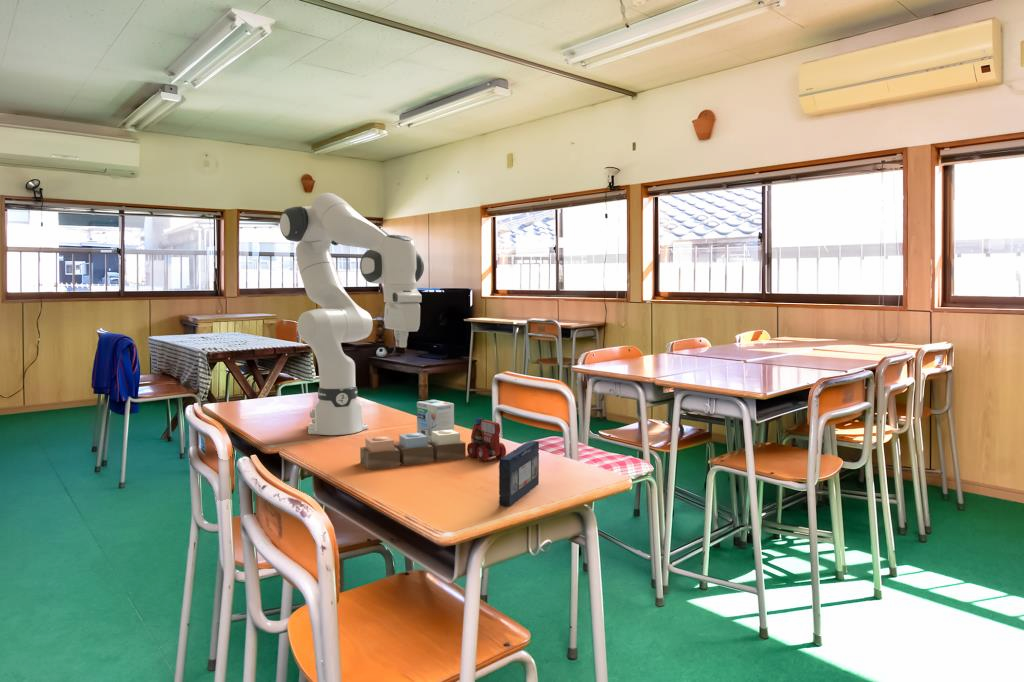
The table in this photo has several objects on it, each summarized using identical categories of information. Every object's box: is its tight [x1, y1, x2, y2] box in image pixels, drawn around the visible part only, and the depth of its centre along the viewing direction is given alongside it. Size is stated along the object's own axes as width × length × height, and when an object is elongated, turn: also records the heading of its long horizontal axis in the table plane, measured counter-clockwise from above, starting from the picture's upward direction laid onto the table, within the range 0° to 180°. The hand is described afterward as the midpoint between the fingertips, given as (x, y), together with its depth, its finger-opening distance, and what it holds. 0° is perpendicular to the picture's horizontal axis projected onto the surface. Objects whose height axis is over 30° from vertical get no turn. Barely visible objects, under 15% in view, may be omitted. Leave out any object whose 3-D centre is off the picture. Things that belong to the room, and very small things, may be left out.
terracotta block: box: [364, 435, 395, 453], centre depth 174 cm, size 6×6×4 cm
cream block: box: [432, 429, 461, 445], centre depth 182 cm, size 6×6×4 cm
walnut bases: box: [359, 439, 467, 471], centre depth 178 cm, size 8×26×4 cm, turn 117°
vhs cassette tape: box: [498, 440, 540, 508], centre depth 148 cm, size 18×3×10 cm, turn 157°
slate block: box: [398, 432, 429, 449], centre depth 178 cm, size 6×6×4 cm
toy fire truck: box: [466, 417, 507, 463], centre depth 181 cm, size 7×12×10 cm, turn 34°
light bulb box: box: [416, 399, 455, 440], centre depth 206 cm, size 11×7×11 cm, turn 42°
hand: (401, 346), depth 185 cm, fingers closed
